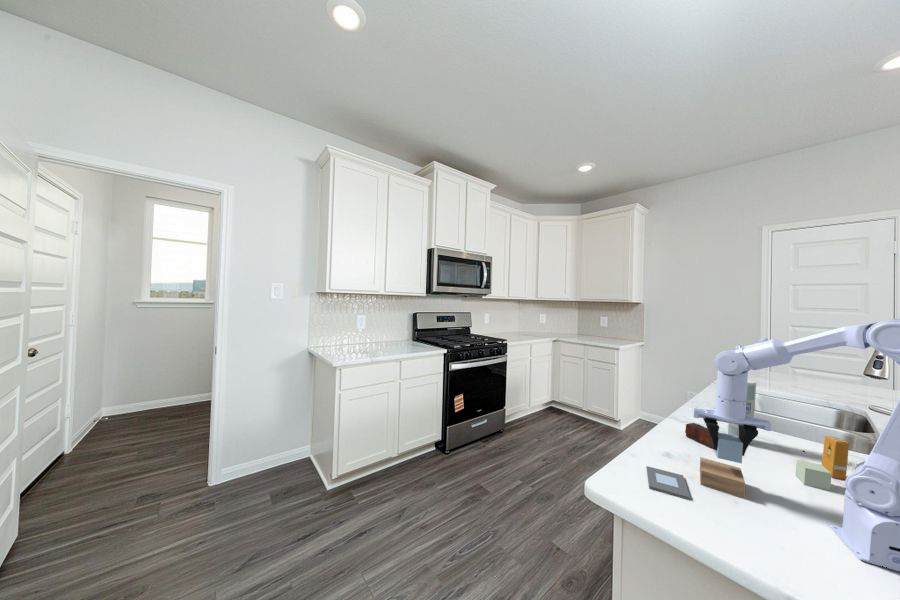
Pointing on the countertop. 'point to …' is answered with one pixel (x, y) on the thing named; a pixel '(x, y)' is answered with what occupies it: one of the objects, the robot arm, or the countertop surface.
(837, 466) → the supplement box
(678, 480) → the card
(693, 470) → the countertop surface
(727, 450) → the slate block
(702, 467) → the base block
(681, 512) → the countertop surface
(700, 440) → the brick
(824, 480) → the sage block
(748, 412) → the spray can
